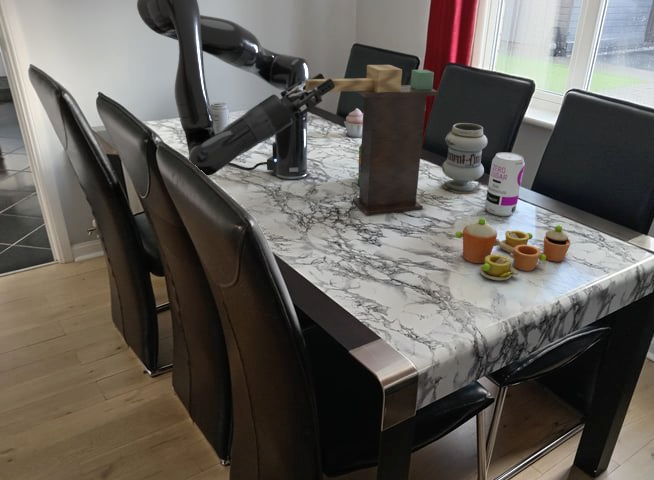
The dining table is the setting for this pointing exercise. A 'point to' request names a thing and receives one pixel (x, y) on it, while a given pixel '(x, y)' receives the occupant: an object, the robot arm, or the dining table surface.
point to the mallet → (366, 80)
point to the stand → (391, 150)
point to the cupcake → (354, 123)
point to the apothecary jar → (464, 157)
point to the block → (422, 79)
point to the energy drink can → (220, 116)
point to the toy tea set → (509, 249)
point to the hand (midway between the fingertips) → (327, 79)
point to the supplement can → (504, 183)
